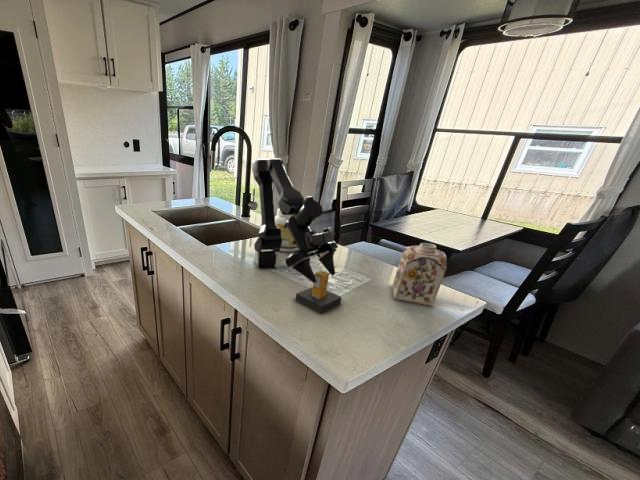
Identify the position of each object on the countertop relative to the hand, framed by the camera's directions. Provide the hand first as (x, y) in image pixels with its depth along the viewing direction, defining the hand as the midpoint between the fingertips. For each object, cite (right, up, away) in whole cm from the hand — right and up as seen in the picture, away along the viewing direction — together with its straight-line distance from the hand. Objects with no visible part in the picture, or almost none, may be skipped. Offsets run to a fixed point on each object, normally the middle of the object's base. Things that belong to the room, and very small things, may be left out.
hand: (324, 278), depth 98 cm
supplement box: (-1, -7, +5) cm, 9 cm away
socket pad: (-1, -7, +5) cm, 9 cm away
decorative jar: (+32, -5, +12) cm, 35 cm away
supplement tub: (-5, +17, +49) cm, 52 cm away
